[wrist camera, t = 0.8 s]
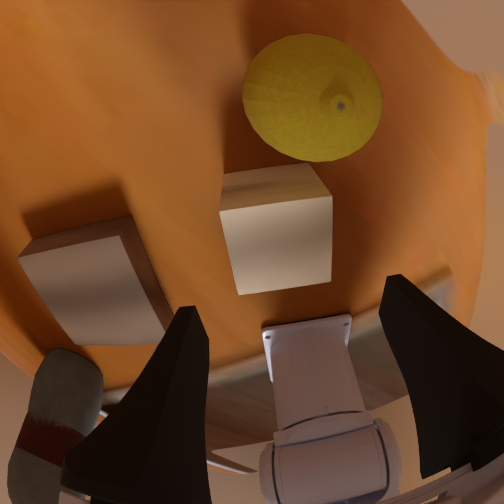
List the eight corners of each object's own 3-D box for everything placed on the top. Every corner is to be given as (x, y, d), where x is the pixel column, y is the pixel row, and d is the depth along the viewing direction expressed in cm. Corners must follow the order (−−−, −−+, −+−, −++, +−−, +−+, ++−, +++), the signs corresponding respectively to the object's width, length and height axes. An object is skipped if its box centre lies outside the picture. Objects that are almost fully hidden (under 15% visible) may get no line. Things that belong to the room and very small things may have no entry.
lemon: (228, 56, 12) (220, 35, 6) (328, 38, 12) (404, 17, 5) (255, 147, 15) (270, 209, 9) (347, 128, 15) (423, 176, 8)
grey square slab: (176, 315, 24) (171, 342, 21) (85, 321, 24) (75, 344, 21) (133, 211, 18) (119, 235, 15) (35, 236, 18) (16, 258, 16)
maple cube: (311, 233, 19) (330, 281, 15) (237, 243, 19) (238, 295, 15) (307, 162, 16) (332, 196, 12) (223, 173, 16) (219, 211, 12)
